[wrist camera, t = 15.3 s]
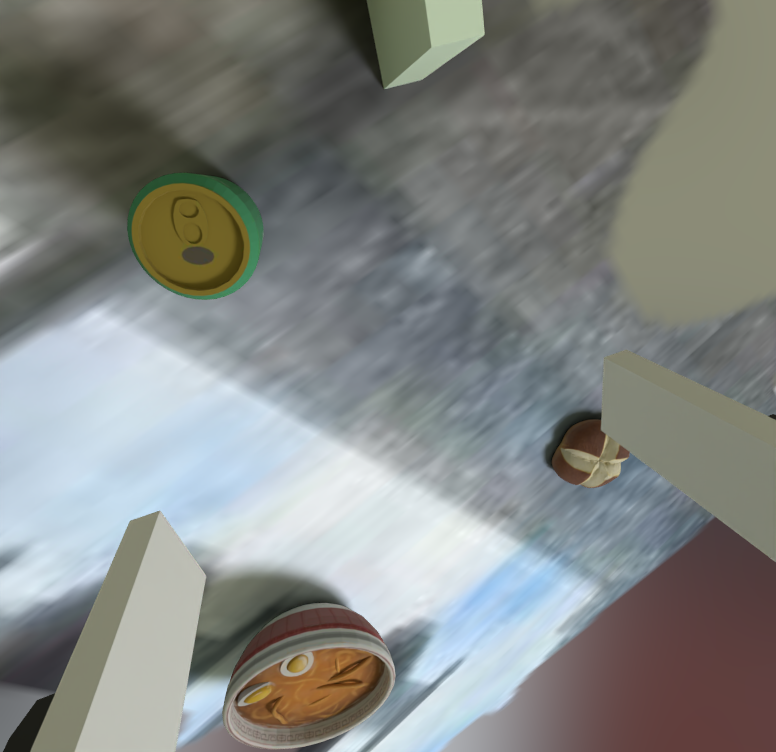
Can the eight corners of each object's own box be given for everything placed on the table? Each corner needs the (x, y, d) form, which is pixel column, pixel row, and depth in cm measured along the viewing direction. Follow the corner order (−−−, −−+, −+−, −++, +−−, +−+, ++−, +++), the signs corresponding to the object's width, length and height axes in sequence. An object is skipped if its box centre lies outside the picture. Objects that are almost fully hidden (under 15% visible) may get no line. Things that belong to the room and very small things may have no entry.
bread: (590, 480, 64) (613, 501, 60) (538, 467, 60) (558, 489, 55) (630, 423, 61) (657, 441, 56) (577, 405, 56) (603, 423, 52)
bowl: (204, 611, 55) (191, 691, 46) (363, 555, 58) (378, 621, 49) (259, 692, 66) (257, 770, 57) (391, 641, 69) (408, 708, 60)
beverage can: (176, 271, 36) (137, 306, 26) (158, 173, 33) (104, 168, 23) (267, 270, 38) (264, 302, 28) (259, 178, 35) (252, 175, 24)
